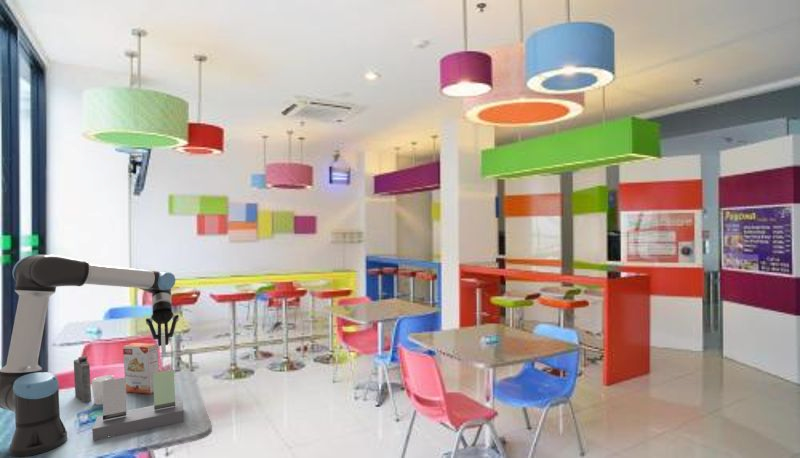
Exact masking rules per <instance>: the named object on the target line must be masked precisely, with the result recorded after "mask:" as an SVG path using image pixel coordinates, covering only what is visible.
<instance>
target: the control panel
mask: <svg viewBox="0 0 800 458" xmlns="http://www.w3.org/2000/svg"><path fill="white" fill-rule="evenodd" d="M184 421H185V417H184V403H183V399H180V400H179V399H178V400H175V406H172V407H167V408H162V409H157V410H154V404H153V405H150V406H145V407H139V408H134V409H128V410H126V416H122V417H117V418H112V419H107V420H103V414H102V415H97V416H96V419H95V421H94V424H93V426H92V432H91V433H92V441H93V440H94V441H98V440H97V439H99V440H102V439H101V438H103V439H106V438H105V437H108V436H113V435H117V436H121V435H120V434H122V435H126V434H125V433H127V434H131V433H134V431H136V432H140V431H145V430H148V429H149V430H150V429H155V428H158V427H162V426H163V427H164V426H169V425H172V424H177V423H182V422H184ZM130 432H131V433H130ZM113 437H114V436H113ZM108 438H109V437H108Z"/></svg>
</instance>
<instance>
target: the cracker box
mask: <svg viewBox="0 0 800 458" xmlns="http://www.w3.org/2000/svg"><path fill="white" fill-rule="evenodd" d="M158 346H159V345H158V343H145V342H131V343H129V344H125V345H123V346H122V347H123V348H122V350H123V352H122V353H123V354H122V355H123V368H124V369H123V370H124V373H123V374H124V378H125V377H126V393H136V394H147V395H151V394H154V384H153V373H155V372H160V368H159V367H160V364H159V347H158Z"/></svg>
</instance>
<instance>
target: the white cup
mask: <svg viewBox="0 0 800 458" xmlns="http://www.w3.org/2000/svg"><path fill="white" fill-rule="evenodd" d="M113 379H115V375H114V374H105V375H100V376H97V377H94V378H92V379H91V390H92V395H93V401H94V405H96V406H97V405H99V406H101V405H103V381H107V380H113Z"/></svg>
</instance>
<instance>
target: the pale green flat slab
mask: <svg viewBox="0 0 800 458" xmlns="http://www.w3.org/2000/svg"><path fill="white" fill-rule="evenodd" d="M153 384H154V392H153V405H154V410H157V409H162V408H167V407H172V406H175V401H176V390H175V388H176V386H175V385H176V384H175V369H168V370H167V369H166V370H162V371H159V372H155V373H153Z"/></svg>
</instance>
